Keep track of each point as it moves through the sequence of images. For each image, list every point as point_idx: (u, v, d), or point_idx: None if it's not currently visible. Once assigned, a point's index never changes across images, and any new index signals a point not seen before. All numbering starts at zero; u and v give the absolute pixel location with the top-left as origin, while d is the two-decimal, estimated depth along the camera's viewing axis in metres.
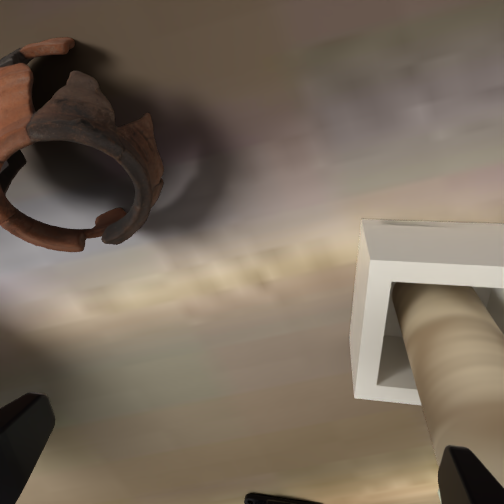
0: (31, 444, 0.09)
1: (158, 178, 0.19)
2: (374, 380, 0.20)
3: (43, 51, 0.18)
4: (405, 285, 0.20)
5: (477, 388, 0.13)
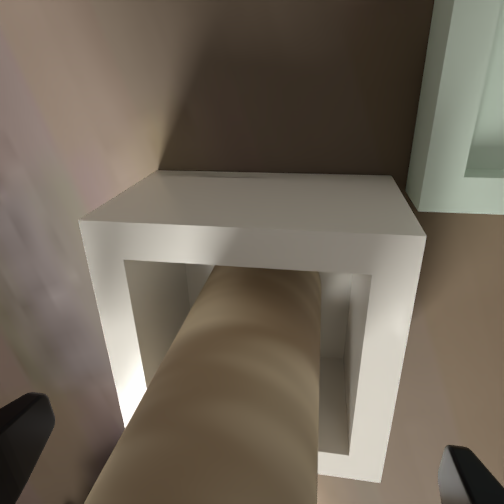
0: (31, 444, 0.09)
1: None
2: (337, 457, 0.11)
3: None
4: None
5: None
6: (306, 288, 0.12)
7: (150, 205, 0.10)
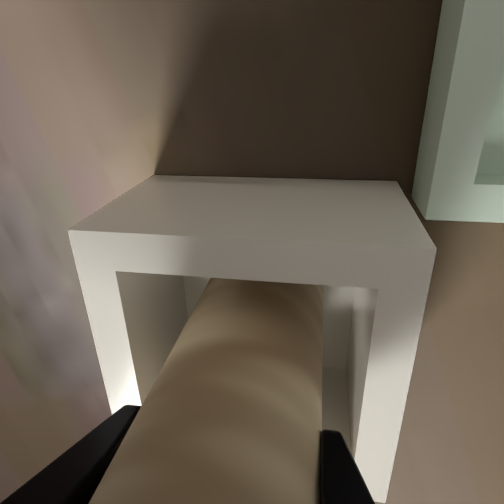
0: None
1: None
2: None
3: None
4: None
5: None
6: (307, 300, 0.11)
7: (144, 213, 0.10)
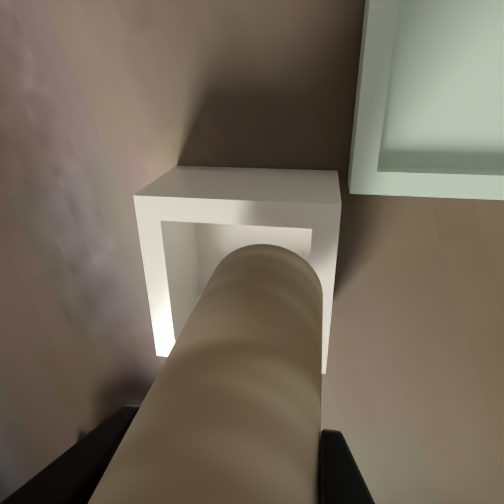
0: None
1: None
2: None
3: None
4: None
5: None
6: (307, 300, 0.11)
7: (176, 187, 0.16)
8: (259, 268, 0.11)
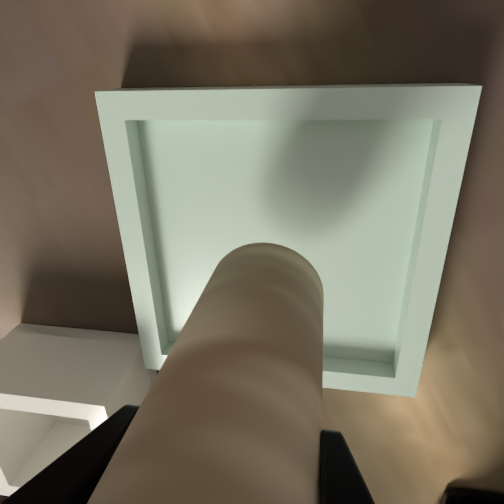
0: None
1: None
2: None
3: None
4: None
5: None
6: (308, 298, 0.11)
7: None
8: (260, 267, 0.11)
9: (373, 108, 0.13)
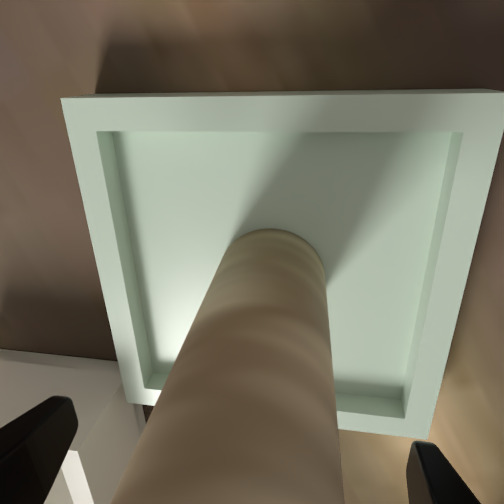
0: (56, 448, 0.09)
1: None
2: None
3: None
4: None
5: None
6: (314, 275, 0.12)
7: None
8: (269, 248, 0.12)
9: (383, 118, 0.11)
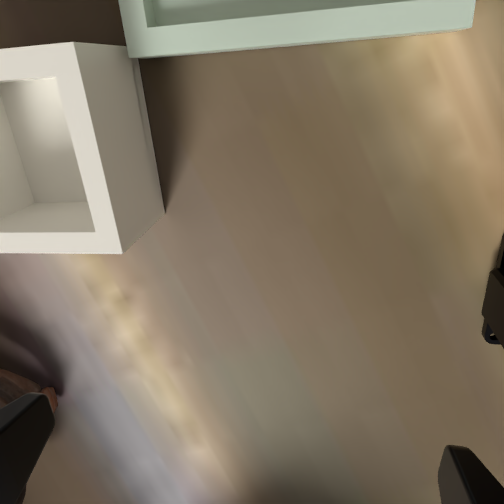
0: (31, 444, 0.09)
1: None
2: (89, 235, 0.17)
3: None
4: None
5: None
6: None
7: None
8: None
9: None
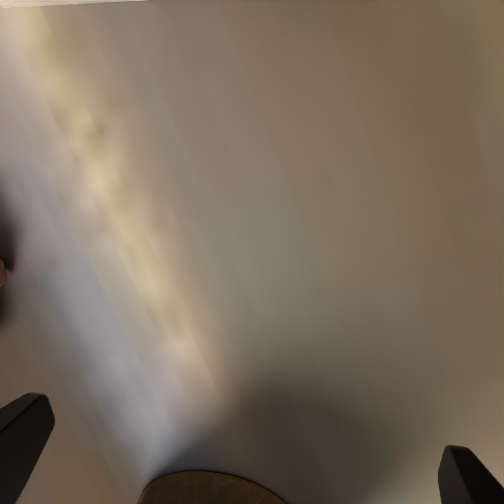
0: (31, 444, 0.09)
1: None
2: None
3: None
4: None
5: None
6: None
7: None
8: None
9: None
